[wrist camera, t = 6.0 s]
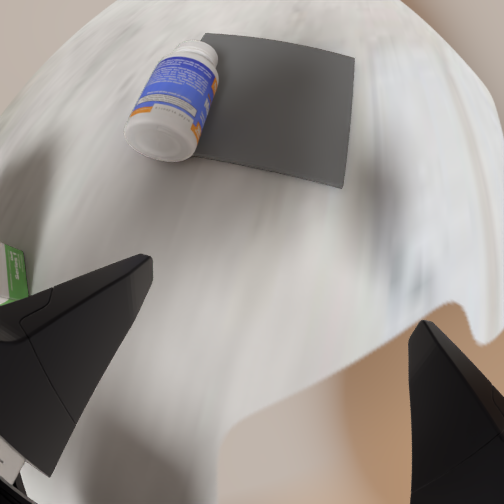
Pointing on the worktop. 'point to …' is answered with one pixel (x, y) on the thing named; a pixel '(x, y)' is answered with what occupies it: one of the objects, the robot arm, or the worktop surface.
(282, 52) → the rubber mat
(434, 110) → the worktop surface
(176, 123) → the pill bottle
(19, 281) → the ink box
